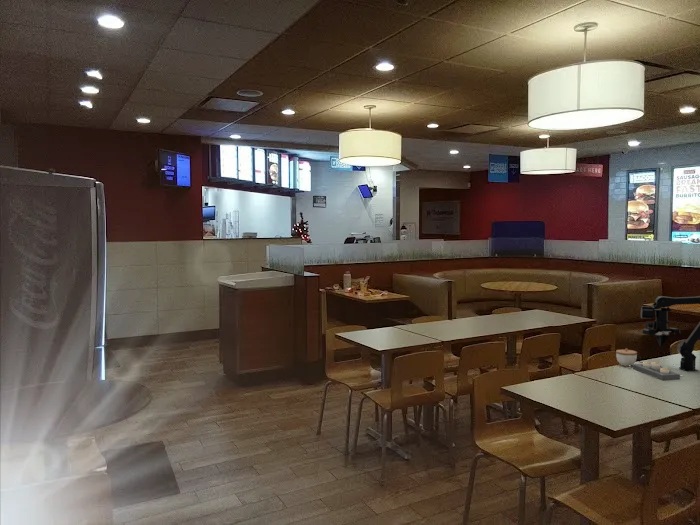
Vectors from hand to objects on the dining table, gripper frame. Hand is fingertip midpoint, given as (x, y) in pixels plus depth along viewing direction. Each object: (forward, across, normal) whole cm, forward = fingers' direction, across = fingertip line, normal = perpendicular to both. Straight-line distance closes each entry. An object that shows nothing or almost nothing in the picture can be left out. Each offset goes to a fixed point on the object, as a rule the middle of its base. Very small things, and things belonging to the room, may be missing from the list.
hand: (660, 346), depth 310 cm
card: (+12, +3, +11) cm, 17 cm away
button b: (+10, +11, +11) cm, 18 cm away
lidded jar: (+12, +14, -10) cm, 21 cm away
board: (+12, +11, +11) cm, 20 cm away
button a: (+12, +11, +4) cm, 17 cm away
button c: (+12, +11, +18) cm, 24 cm away
